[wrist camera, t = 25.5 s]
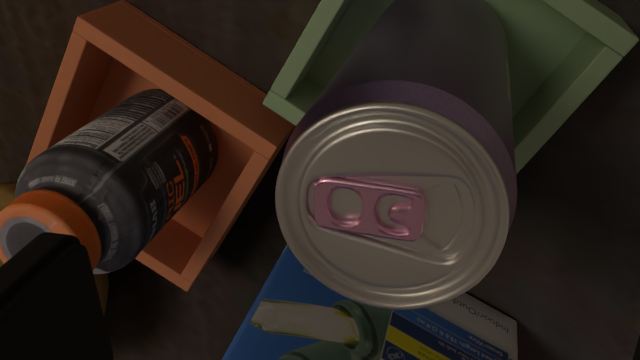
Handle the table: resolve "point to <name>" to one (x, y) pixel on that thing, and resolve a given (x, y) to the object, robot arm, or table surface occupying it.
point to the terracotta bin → (189, 88)
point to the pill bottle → (113, 180)
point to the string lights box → (363, 325)
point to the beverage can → (406, 160)
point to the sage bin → (523, 55)
